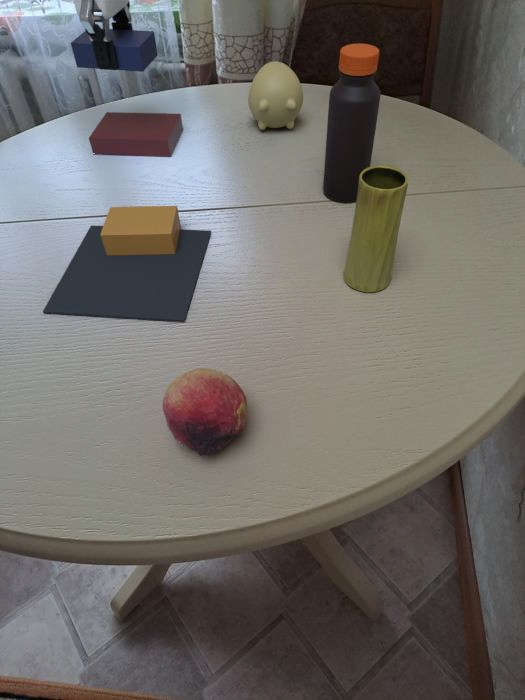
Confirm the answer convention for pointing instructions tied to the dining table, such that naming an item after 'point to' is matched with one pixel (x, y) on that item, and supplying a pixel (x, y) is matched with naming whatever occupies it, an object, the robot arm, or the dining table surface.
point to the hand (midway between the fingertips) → (117, 58)
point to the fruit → (205, 410)
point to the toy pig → (275, 96)
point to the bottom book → (137, 134)
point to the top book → (141, 230)
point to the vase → (375, 228)
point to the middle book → (119, 49)
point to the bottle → (351, 122)
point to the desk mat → (130, 281)
